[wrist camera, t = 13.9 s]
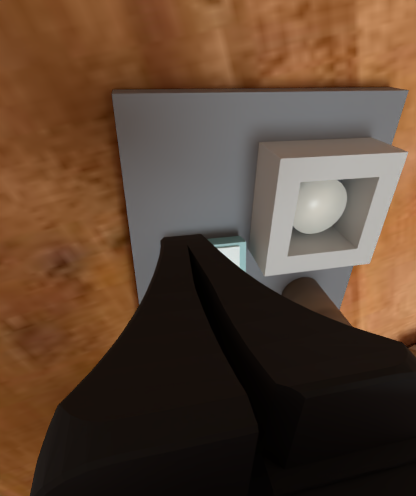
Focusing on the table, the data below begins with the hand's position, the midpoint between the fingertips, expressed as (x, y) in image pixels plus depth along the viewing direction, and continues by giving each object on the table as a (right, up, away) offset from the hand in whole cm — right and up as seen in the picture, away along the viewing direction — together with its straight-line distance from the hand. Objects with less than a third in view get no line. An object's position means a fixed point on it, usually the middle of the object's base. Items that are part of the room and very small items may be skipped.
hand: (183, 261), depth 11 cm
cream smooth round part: (+7, +4, +10) cm, 12 cm away
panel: (+4, +2, +12) cm, 13 cm away
